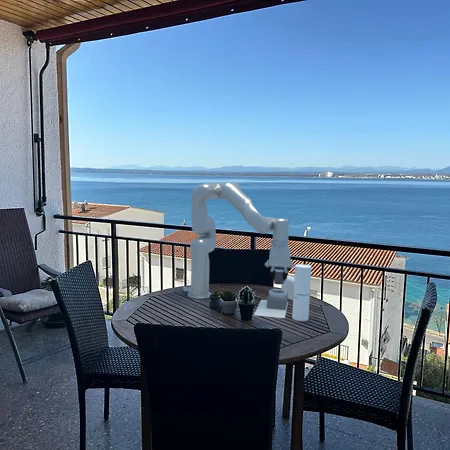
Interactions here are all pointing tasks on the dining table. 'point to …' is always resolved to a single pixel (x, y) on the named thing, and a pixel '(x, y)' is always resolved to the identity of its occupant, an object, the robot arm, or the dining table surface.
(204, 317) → the dining table surface
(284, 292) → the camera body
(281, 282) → the lens
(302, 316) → the cylindrical container
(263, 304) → the board
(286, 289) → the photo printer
